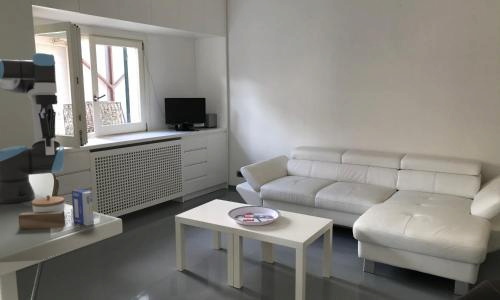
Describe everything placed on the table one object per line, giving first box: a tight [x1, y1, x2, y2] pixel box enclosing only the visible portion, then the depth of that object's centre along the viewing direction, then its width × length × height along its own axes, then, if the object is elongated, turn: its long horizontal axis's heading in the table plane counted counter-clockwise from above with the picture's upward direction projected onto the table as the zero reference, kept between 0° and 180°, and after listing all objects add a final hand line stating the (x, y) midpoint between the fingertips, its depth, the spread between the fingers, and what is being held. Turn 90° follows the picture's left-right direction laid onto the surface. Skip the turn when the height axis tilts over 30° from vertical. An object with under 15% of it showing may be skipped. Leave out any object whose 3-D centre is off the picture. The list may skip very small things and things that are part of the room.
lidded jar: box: [31, 194, 66, 212], centre depth 147 cm, size 11×11×9 cm
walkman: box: [71, 188, 95, 227], centre depth 143 cm, size 8×3×12 cm, turn 59°
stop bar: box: [17, 210, 66, 231], centre depth 139 cm, size 3×14×5 cm, turn 99°
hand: (50, 154), depth 158 cm, fingers closed
